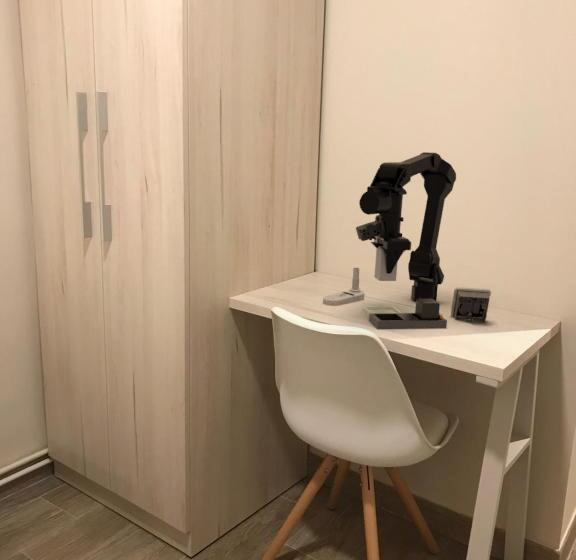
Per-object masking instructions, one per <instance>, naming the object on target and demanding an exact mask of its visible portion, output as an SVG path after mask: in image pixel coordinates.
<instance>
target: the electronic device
mask: <svg viewBox="0 0 576 560" xmlns="http://www.w3.org/2000/svg"><path fill="white" fill-rule="evenodd" d="M351 283H352V284H351V288H350V289H349V290H346V291H341V292H337V293H333V294H328V295H325V296H323V299H322V304H324V305H325V306H329V307H330V306H332V307H338V306H342V305H347V304H348V305H349V304H352V303H357V302H361V301H364V300H365V292H364V291H362V289H361V288H360V268H359V267H353V269H352V281H351Z"/></svg>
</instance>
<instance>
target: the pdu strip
mask: <svg viewBox="0 0 576 560" xmlns="http://www.w3.org/2000/svg"><path fill="white" fill-rule="evenodd" d="M438 302H439V301H437V300H436V301H435V300H433V299H416V302H415V308H414V309H415V310H414V313H413V312H411V313H410V312H405V313H404V312H402V313H370V314H369V315H368V317H369V318H368V321H369V323H370V324H371V325H372V326H374V328H375V329H376V330H412V329H413V330H417V329H418V330H419V329H420V330H422V329H423V330H425V329H426V330H428V329H429V330H430V329H433V330H434V329H435V330H436V329H447V327H448V326H447V325H448V319H446V318H444V315H443V314H442V313H440V306H441V303H440V302H439V303H438Z"/></svg>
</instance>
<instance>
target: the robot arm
mask: <svg viewBox="0 0 576 560" xmlns="http://www.w3.org/2000/svg"><path fill="white" fill-rule="evenodd" d="M418 174H419V175H420V176H421V177H422V179H423V188H424V189H425V193H426V195H427V199H426V204H425V209H424V215H423V219H422V228H421V232H420V239H419V243H418V246H417V248H416V249H414V250H412V242H411V241H410V239H409V238H406V237H404V236H403V233H402V232H401V225H402V224H401V222H404V220H405V219H404V217H402V210H403V209H402V208H403V201H404V200H403V198H404V197H403V196H404V195H407V194H408V193H407V190H406V189H404V186H406V185H407V184H408V183H410V182H411V181H412V180H411V179H412V177H413V176H417V175H418ZM456 180H457V173H456V171H455V169H454V167H453V166H452V164H451V163H449V162H448V161H446V160H445V159H444V158H442V157H441V155H440V154H439V153H437V152H422V153H419V154H418V155H415V156H412V157H411V158H408V159H405V160H403V161H399V162H397V161H395V162H394V161H393V162H392V161H389V162H388V161H387V162H382V163H381V164H380V165H379V167H378V169H377V170H376V173H375V175H374V177H373V179H372V181H371V184H370V185H369V186H367V188H366V191H365V192H363V194H361V196H360V198H359V201H358V202H359V203H358V204H359V208H360V210H361V212H362V213H364V214H366V215H369V216H370V215H376V216H375V217H374V221H371V222H367V223H365V224H361V225H358V226H356V227H355V231H356V234H357V238H358V239H359V240H361V241H362V242H364V241H365V242H366V241H368V240H369V241H371V242H370V243H371V244H372V246H373V247H375V249H376V248H379V246H381V247H380V248H381V250H382V251H383V252H384V253H385V261H386V273H387V274H391V272H392V271H393V269H394V267H395V265H396V263H397V264H398V261H399V260H400V259H401V257H402V255H403V254H404V252H406V251H411V250H412V251H411V252H410V255H409V256H410V257H409V260H408V261H409V262H408V263H407V264H408V266H407V267H408V276H409V277H408V278H409V281H413V285H411V291H410V292H411V293H410V294H411V295H410V299H411V300H413V301H414V302H415V303H416V299H433V300H435V301H437V298H438V290H439V289H438V288H439V287H438V286H439V285H442V284H443V282H444V280H445V279H444V278H445V274H444V273H443V270H442V268H441V266H440V262H441V258H440V256H439V253H438V251H437V245H438V239H439V234H440V228H441V223H442V217H443V211H444V206H445V200H446V198H447V197H448V196H449V194H451V192H452V191H453V188H454V184H455V182H456ZM372 240H373V241H372ZM437 302H438V303H439V304H440V302H439V301H437Z"/></svg>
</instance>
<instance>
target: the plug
mask: <svg viewBox="0 0 576 560" xmlns="http://www.w3.org/2000/svg"><path fill="white" fill-rule="evenodd" d="M380 247H381V246H379V248H376V247H375V249H376V251H375V265H374V266H375V267H374V278H375V279H377V281H379V282H396V281H397V274H398V272H397V271H398V262H397V263H396V265H395V267H394V269H393V271H392V272H391V274H387V273H386V261H385V253H384V252H383V251H382V250H381V248H380Z"/></svg>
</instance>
